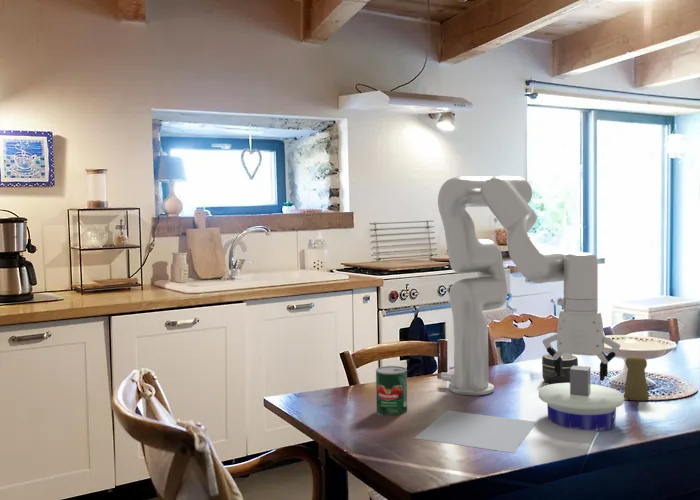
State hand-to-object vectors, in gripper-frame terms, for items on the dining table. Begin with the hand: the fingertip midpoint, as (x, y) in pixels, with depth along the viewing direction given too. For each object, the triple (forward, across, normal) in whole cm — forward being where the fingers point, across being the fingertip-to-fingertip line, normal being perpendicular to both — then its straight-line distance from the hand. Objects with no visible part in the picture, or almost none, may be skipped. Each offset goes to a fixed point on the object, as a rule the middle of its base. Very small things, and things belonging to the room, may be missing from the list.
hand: (580, 377), depth 155 cm
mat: (+11, -20, -17) cm, 28 cm away
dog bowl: (+11, 0, 0) cm, 11 cm away
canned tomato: (+11, -44, -11) cm, 47 cm away
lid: (+5, 0, 0) cm, 5 cm away
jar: (+11, -11, +35) cm, 38 cm away
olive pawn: (+11, +10, +27) cm, 31 cm away
